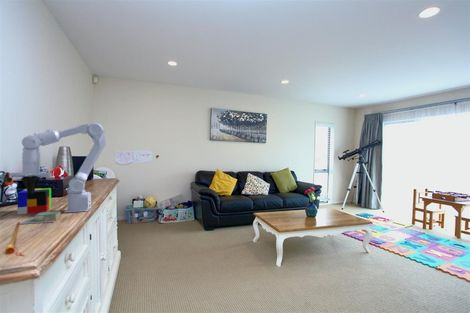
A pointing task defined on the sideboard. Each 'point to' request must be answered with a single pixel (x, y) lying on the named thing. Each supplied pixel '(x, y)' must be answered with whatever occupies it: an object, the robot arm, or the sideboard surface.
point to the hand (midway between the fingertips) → (31, 193)
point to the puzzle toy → (34, 201)
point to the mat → (32, 221)
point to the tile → (47, 216)
